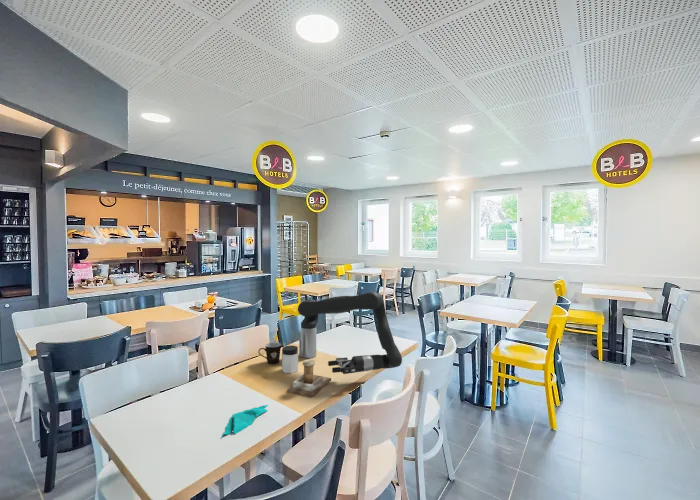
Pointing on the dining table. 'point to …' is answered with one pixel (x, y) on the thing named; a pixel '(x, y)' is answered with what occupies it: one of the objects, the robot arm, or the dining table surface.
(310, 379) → the bobbin
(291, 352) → the jar
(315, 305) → the robot arm
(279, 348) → the coffee mug
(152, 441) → the dining table surface
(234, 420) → the cloth
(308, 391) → the brown board with bracket
